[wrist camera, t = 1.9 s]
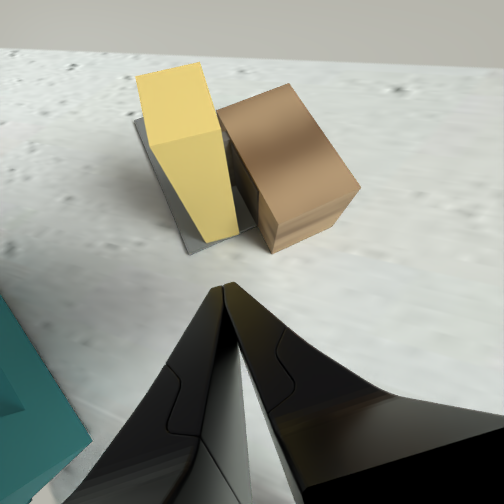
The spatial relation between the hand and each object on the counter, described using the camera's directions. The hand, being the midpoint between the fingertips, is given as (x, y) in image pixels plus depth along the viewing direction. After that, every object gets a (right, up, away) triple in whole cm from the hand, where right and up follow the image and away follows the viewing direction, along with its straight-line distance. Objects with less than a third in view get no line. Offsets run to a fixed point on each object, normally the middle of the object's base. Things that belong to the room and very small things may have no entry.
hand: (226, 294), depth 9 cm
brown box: (+3, +7, +15) cm, 16 cm away
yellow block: (-2, +4, +14) cm, 15 cm away
